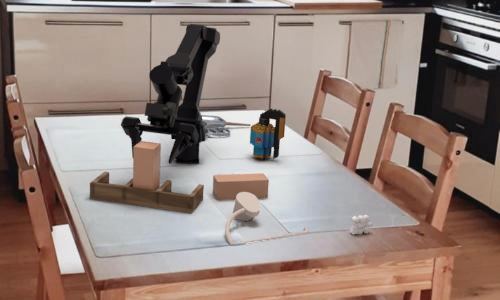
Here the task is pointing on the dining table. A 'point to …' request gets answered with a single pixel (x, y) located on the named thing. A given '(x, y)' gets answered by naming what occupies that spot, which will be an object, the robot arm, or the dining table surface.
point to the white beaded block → (360, 224)
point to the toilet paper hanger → (249, 215)
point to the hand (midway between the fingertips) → (151, 160)
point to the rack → (145, 195)
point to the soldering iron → (217, 125)
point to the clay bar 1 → (146, 165)
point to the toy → (267, 134)
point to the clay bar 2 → (239, 185)
